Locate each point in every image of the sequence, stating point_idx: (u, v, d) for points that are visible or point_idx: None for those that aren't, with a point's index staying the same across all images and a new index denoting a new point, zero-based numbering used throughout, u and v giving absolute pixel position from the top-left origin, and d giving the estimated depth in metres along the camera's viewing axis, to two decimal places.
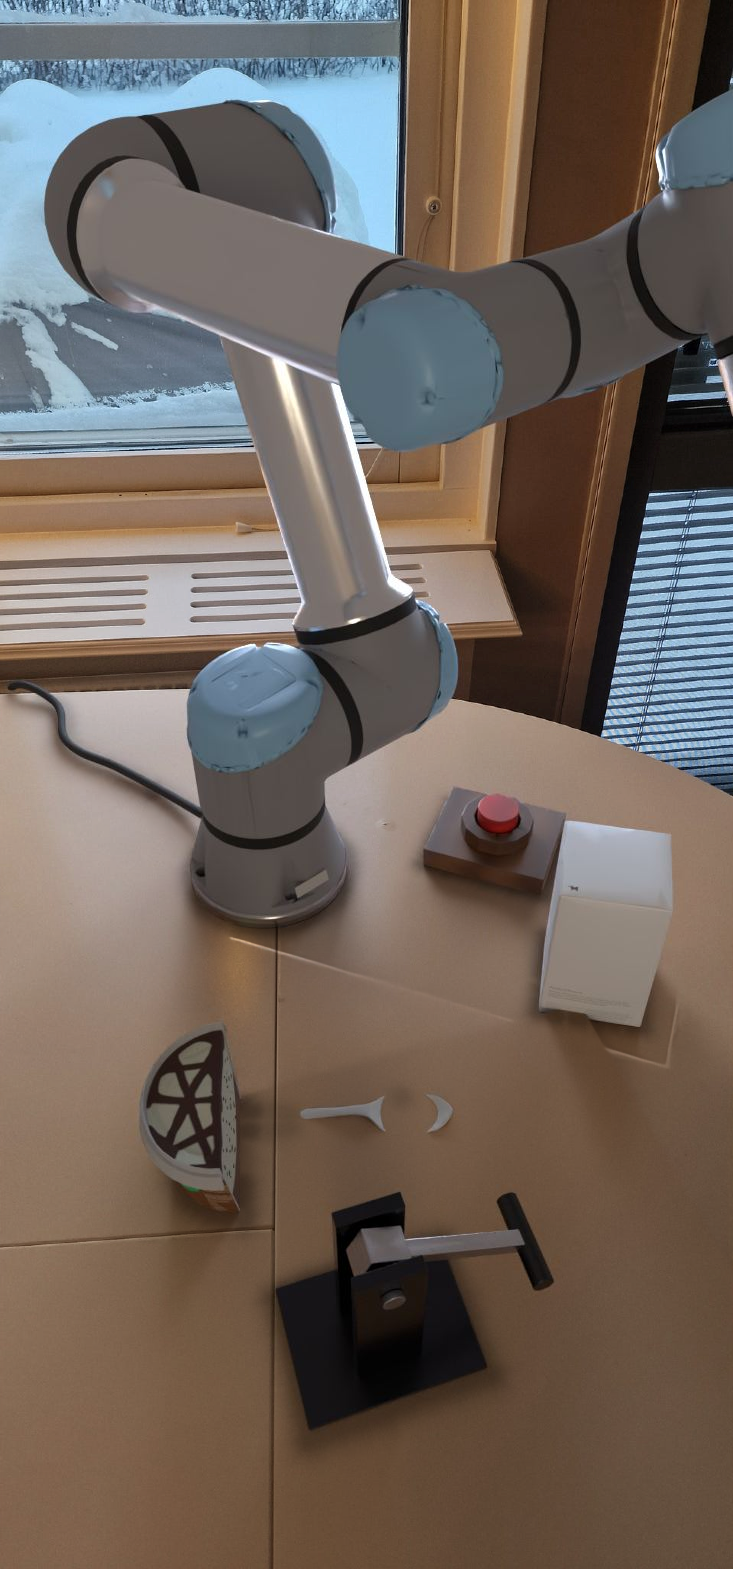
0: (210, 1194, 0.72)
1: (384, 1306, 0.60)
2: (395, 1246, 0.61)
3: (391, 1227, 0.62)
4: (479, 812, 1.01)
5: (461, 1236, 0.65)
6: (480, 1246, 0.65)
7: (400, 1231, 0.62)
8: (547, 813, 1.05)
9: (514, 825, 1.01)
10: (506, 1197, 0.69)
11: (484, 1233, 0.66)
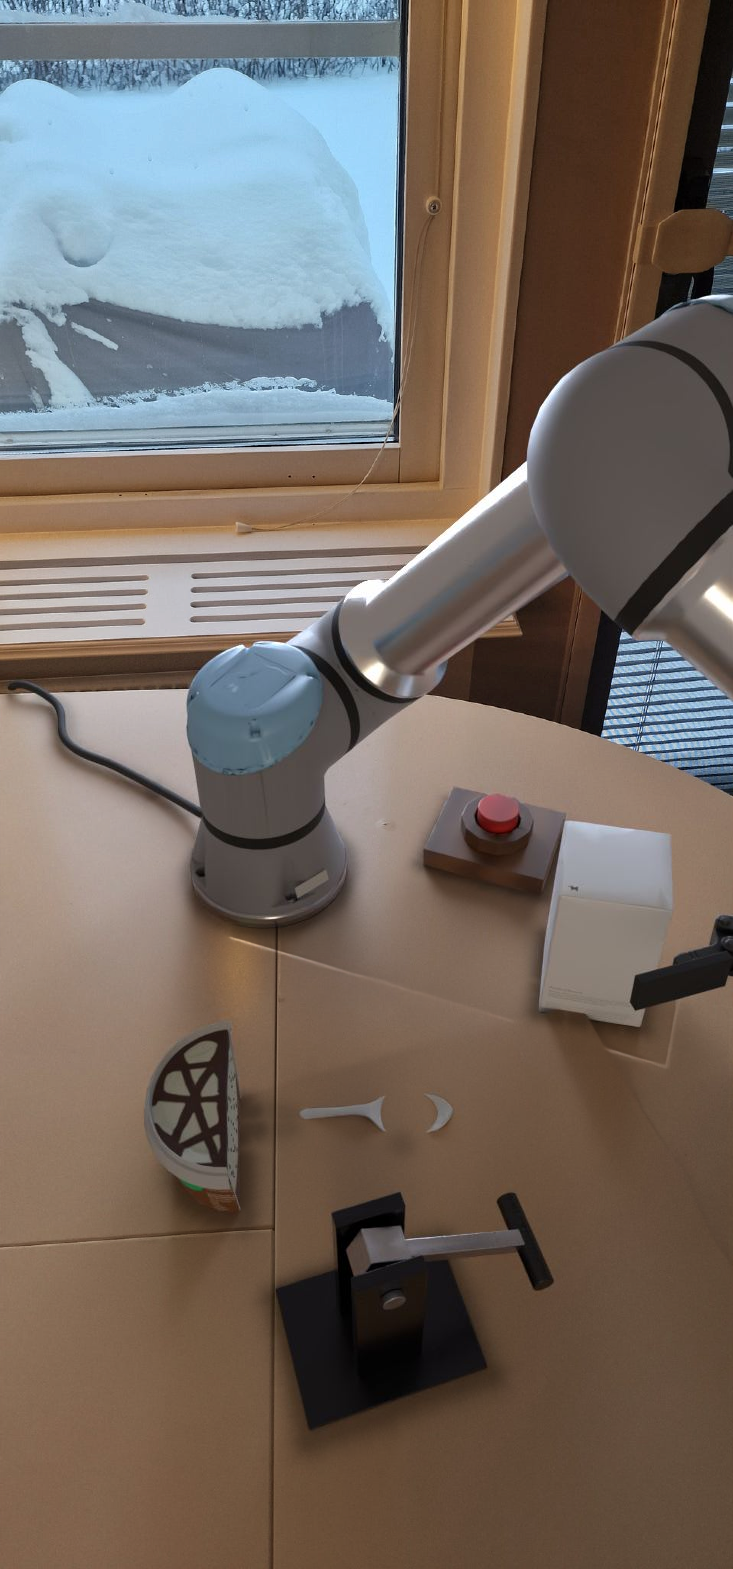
0: (213, 1193, 0.72)
1: (384, 1306, 0.60)
2: (395, 1246, 0.61)
3: (391, 1227, 0.62)
4: (479, 812, 1.01)
5: (461, 1236, 0.65)
6: (480, 1246, 0.65)
7: (400, 1231, 0.62)
8: (547, 813, 1.05)
9: (514, 825, 1.01)
10: (506, 1197, 0.69)
11: (484, 1233, 0.66)
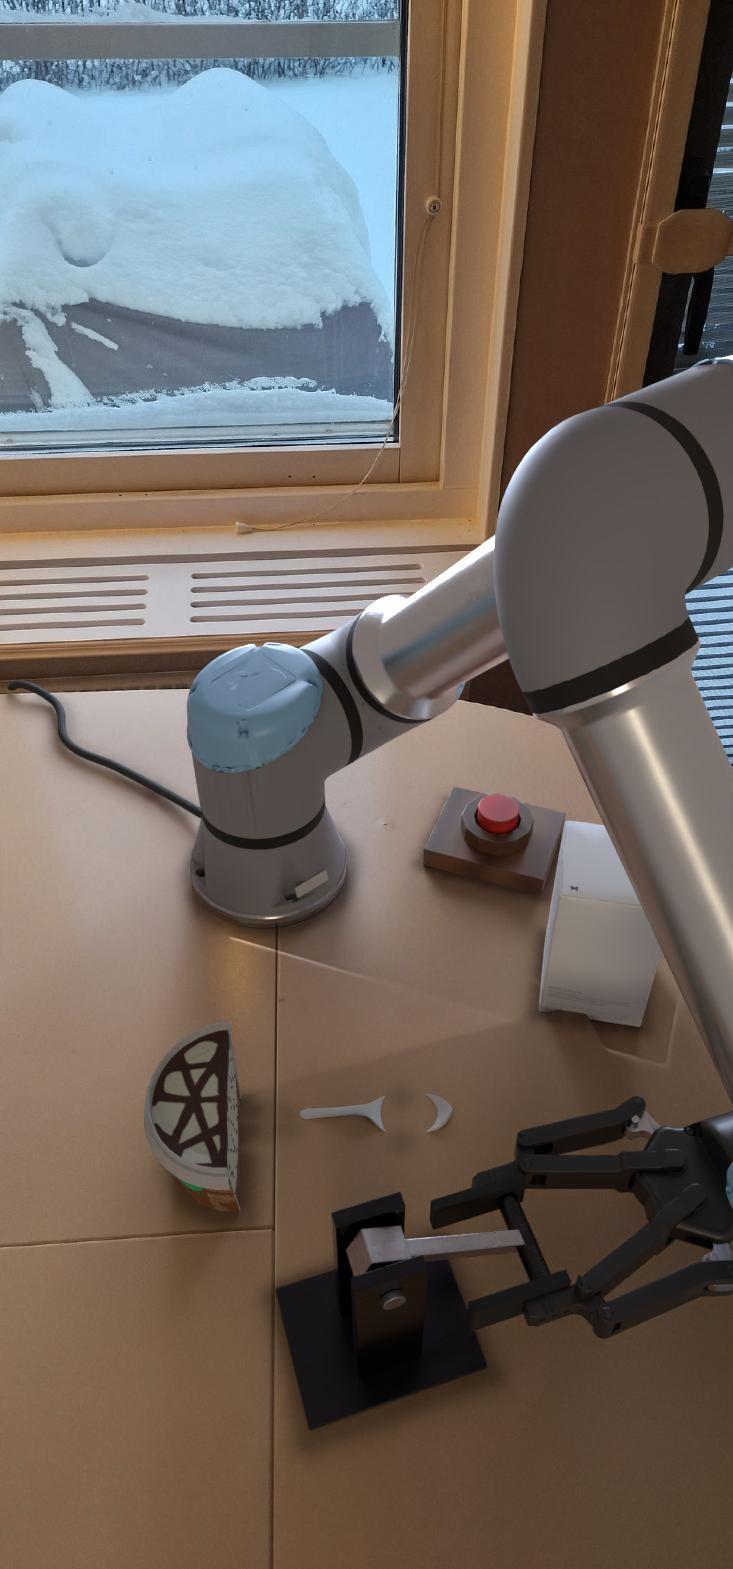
0: (213, 1194, 0.72)
1: (384, 1306, 0.60)
2: (395, 1246, 0.61)
3: (391, 1227, 0.62)
4: (479, 812, 1.01)
5: (461, 1236, 0.65)
6: (480, 1246, 0.65)
7: (400, 1231, 0.62)
8: (547, 813, 1.05)
9: (514, 825, 1.01)
10: (506, 1197, 0.69)
11: (484, 1233, 0.66)
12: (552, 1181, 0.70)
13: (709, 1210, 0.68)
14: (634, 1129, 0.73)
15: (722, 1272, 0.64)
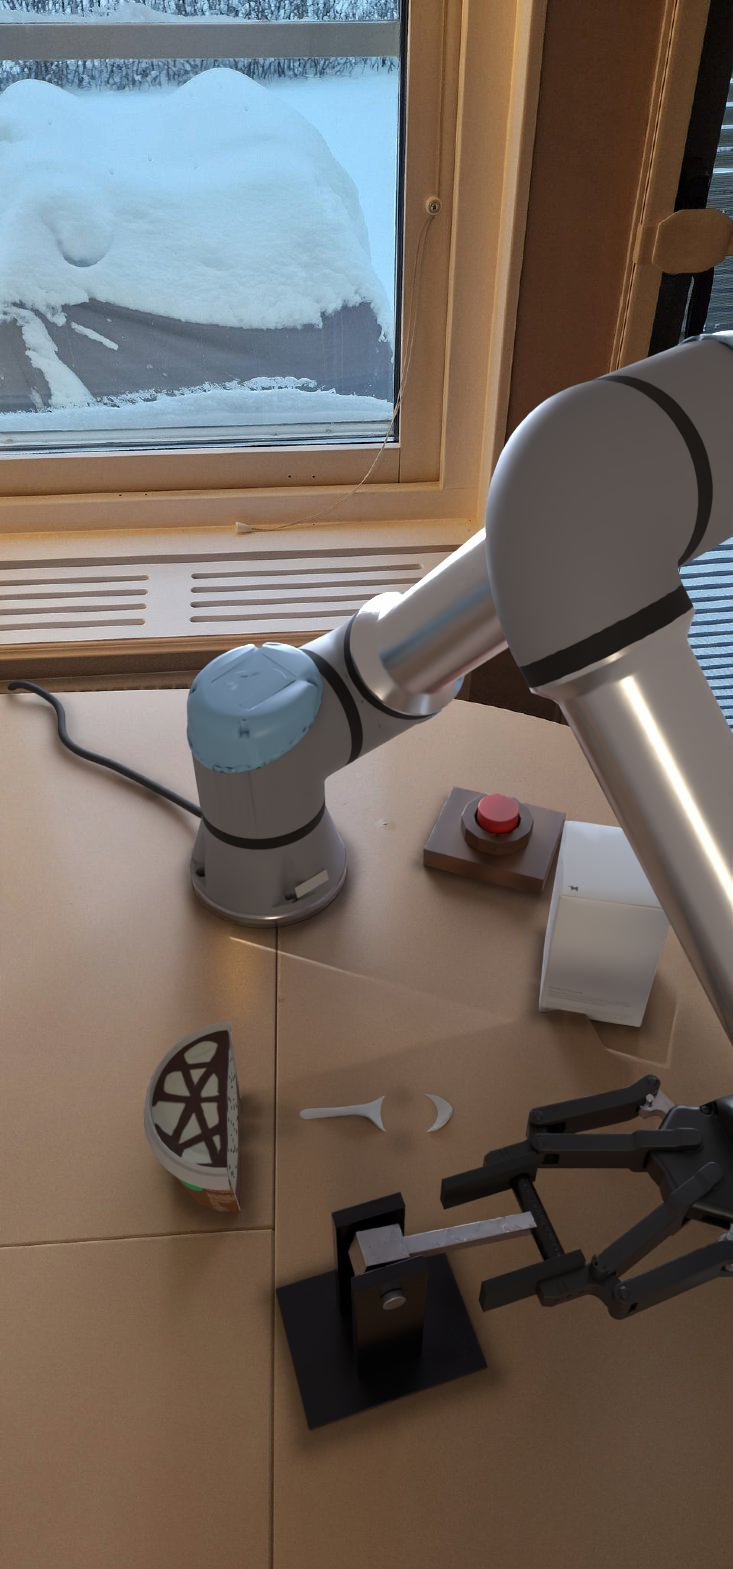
0: (213, 1194, 0.72)
1: (384, 1306, 0.60)
2: (392, 1246, 0.61)
3: (388, 1226, 0.62)
4: (479, 812, 1.01)
5: (467, 1225, 0.64)
6: (487, 1234, 0.64)
7: (398, 1229, 0.62)
8: (547, 813, 1.05)
9: (514, 825, 1.01)
10: (517, 1179, 0.67)
11: (492, 1220, 0.65)
12: (565, 1160, 0.69)
13: (726, 1189, 0.66)
14: (648, 1108, 0.71)
15: None
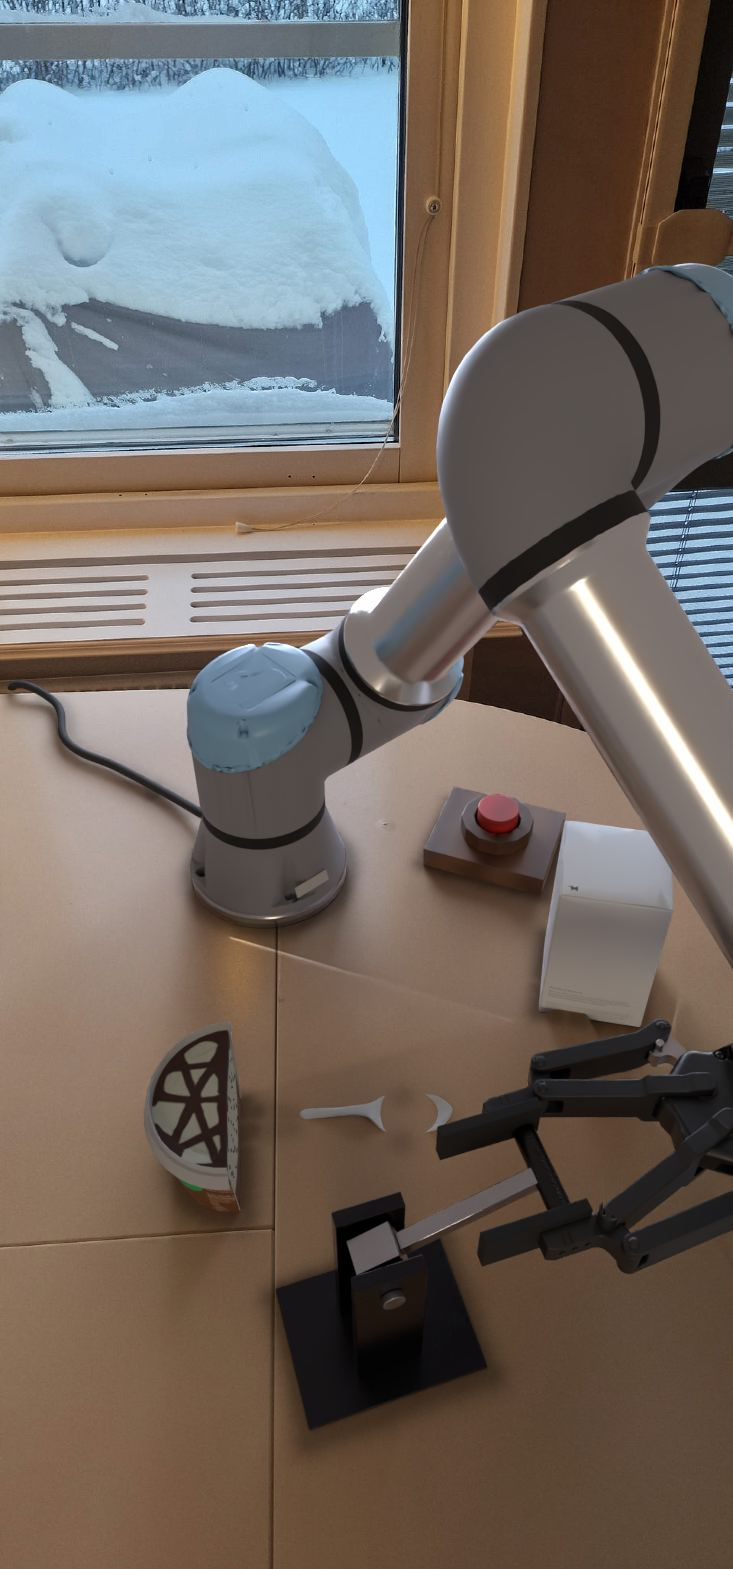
0: (213, 1194, 0.72)
1: (384, 1306, 0.60)
2: (381, 1247, 0.61)
3: (377, 1227, 0.62)
4: (479, 812, 1.01)
5: (463, 1201, 0.62)
6: (484, 1205, 0.61)
7: (387, 1228, 0.62)
8: (547, 813, 1.05)
9: (514, 825, 1.01)
10: (516, 1133, 0.63)
11: (490, 1188, 0.62)
12: (570, 1108, 0.64)
13: None
14: (658, 1054, 0.67)
15: None
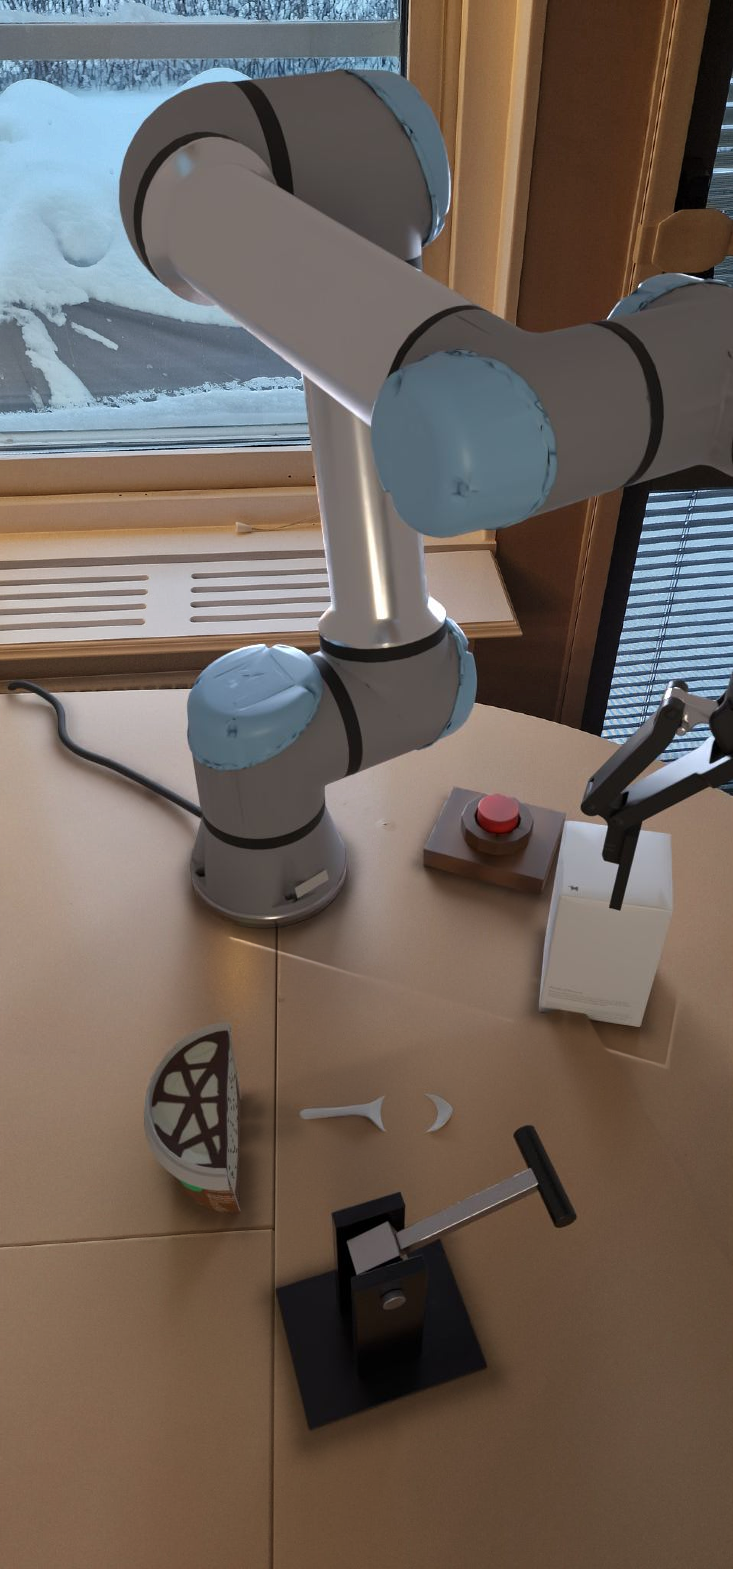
0: (213, 1194, 0.72)
1: (384, 1306, 0.60)
2: (381, 1247, 0.61)
3: (377, 1227, 0.62)
4: (479, 812, 1.01)
5: (463, 1202, 0.62)
6: (485, 1206, 0.61)
7: (387, 1228, 0.62)
8: (547, 813, 1.05)
9: (514, 825, 1.01)
10: (517, 1134, 0.64)
11: (490, 1188, 0.62)
12: None
13: None
14: None
15: None
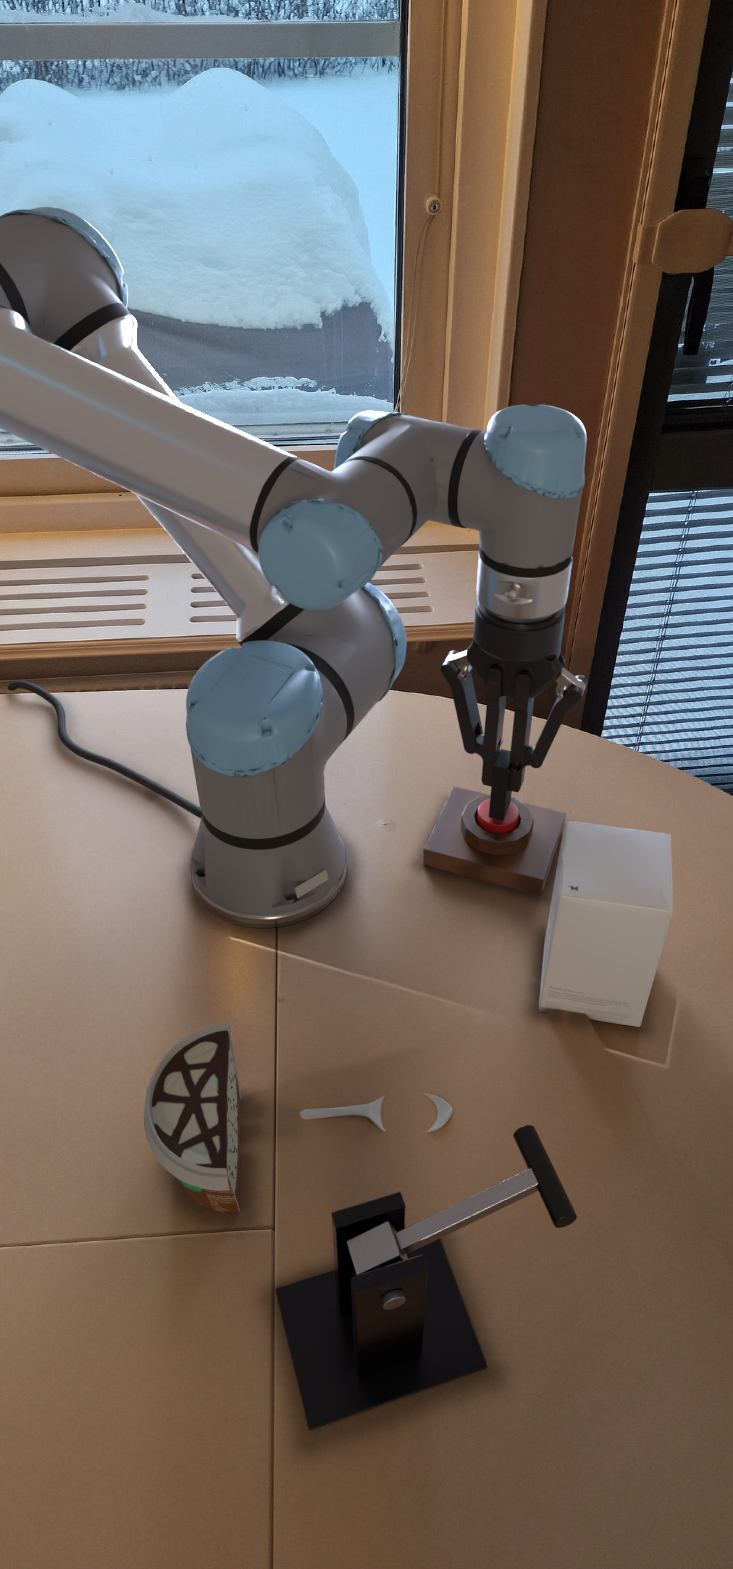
0: (213, 1194, 0.72)
1: (384, 1306, 0.60)
2: (381, 1247, 0.61)
3: (377, 1227, 0.62)
4: (479, 816, 1.01)
5: (463, 1202, 0.62)
6: (485, 1206, 0.61)
7: (387, 1228, 0.62)
8: (547, 813, 1.05)
9: (513, 828, 1.01)
10: (517, 1134, 0.64)
11: (490, 1188, 0.62)
12: None
13: None
14: None
15: None
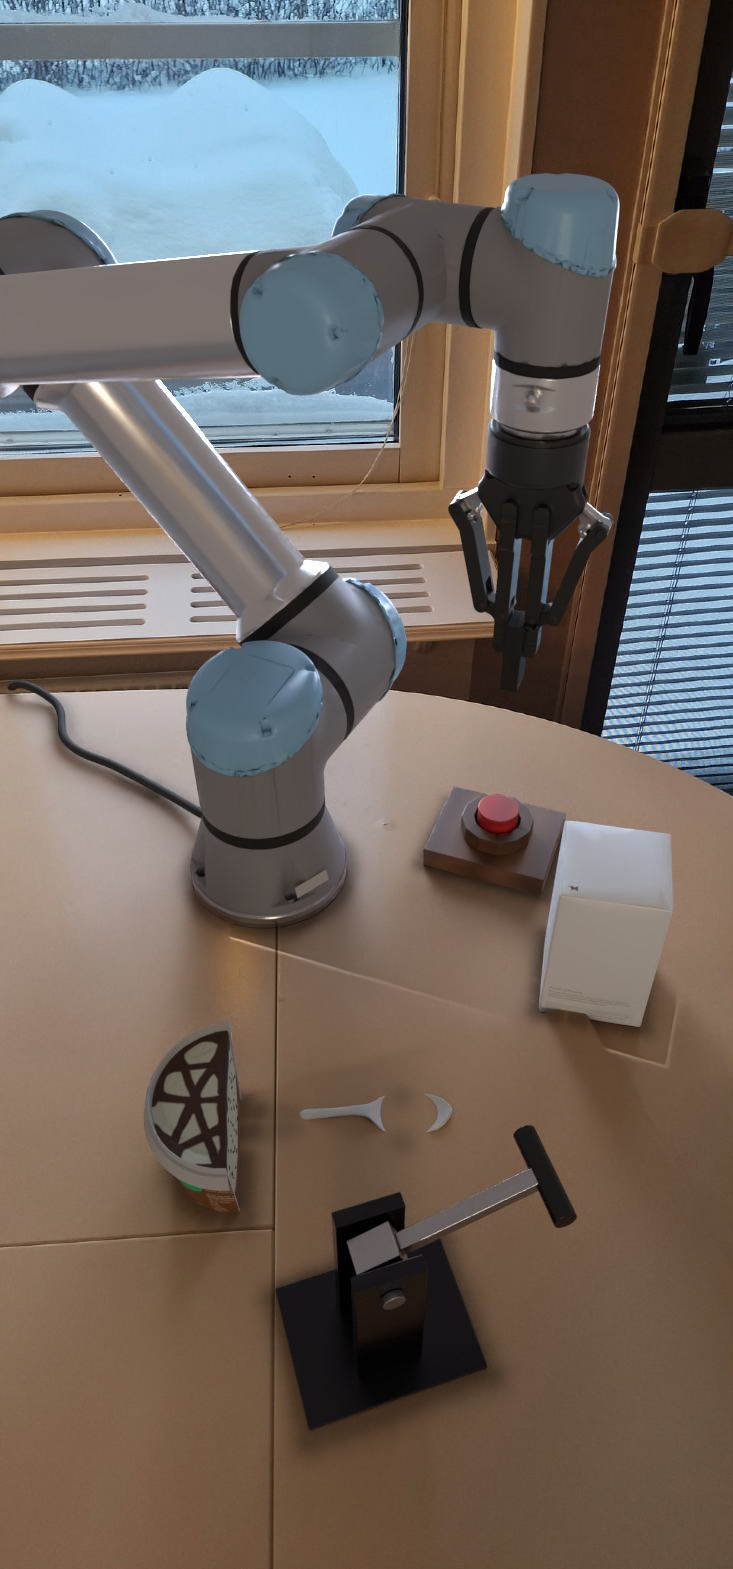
0: (213, 1194, 0.72)
1: (384, 1306, 0.60)
2: (381, 1247, 0.61)
3: (377, 1227, 0.62)
4: (479, 812, 1.01)
5: (463, 1202, 0.62)
6: (485, 1206, 0.61)
7: (387, 1228, 0.62)
8: (547, 813, 1.05)
9: (514, 825, 1.01)
10: (517, 1134, 0.64)
11: (490, 1188, 0.62)
12: None
13: None
14: None
15: None
